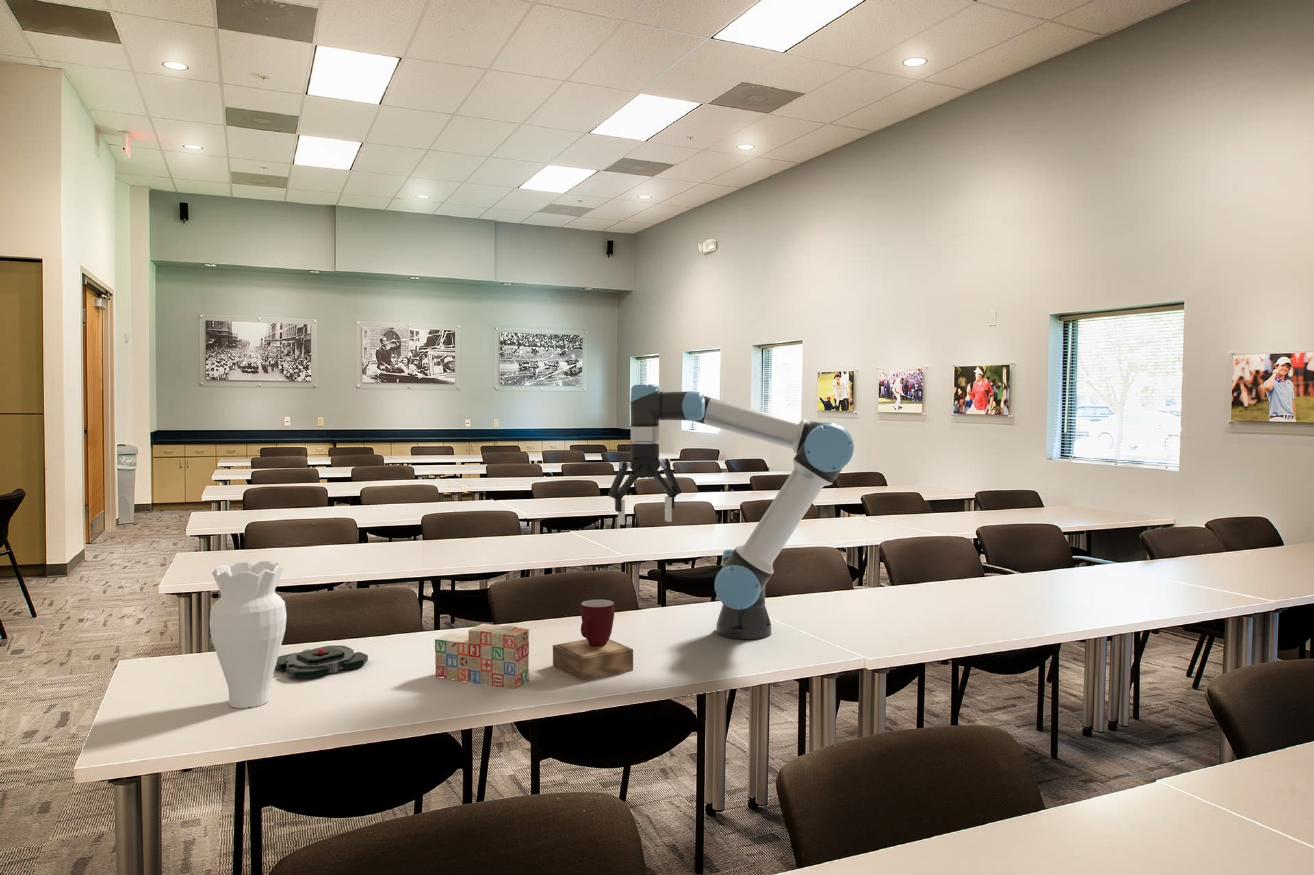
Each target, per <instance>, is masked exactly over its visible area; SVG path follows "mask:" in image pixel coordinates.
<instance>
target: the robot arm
mask: <svg viewBox="0 0 1314 875" xmlns="http://www.w3.org/2000/svg"><path fill="white" fill-rule="evenodd" d="M629 403H630V404H629V405H630V442H632V443H631V444H630V462H628V461H627V462H626V461H620V462H619V464H618V465H619V467H618V470H617V473H616V475H615V477H614V480H613V482H612V484H611V486H610V489H609V491H608V493H607V496H608V497H609V498H612V499H613V500H614V511H615V512H617V517H618V518H617V519H618V521H617V523H618V525H622V526H624V525H626V502H625V501H626V500H625V499H623V498H624V496H625V495H626V494H627V492H628V491H629V490H630V489H631V487H632V486H633V485H634V483H635V482H636V481H637V480H638V479H645V478H648V479H652V478H653V479H654V480H655V482H656V483H657V484H658V485H659V486H660V488H661V489H662V490H663V491H664V493H666V495H667V496H664V521H665V522H673V521H672V520H673V515H672V514H673V510H674V509H675V498H676V497H677V495H681V493H682V490H681V488H680V486H679V483H678V482H677V479H676V477H675V475H674V472H673V470H672V469H671V461H670V460H669V459H663V460H661V461H660V459H659V458H660V444H659V443H658V442H659V441H660V421H689V422H696V423H699V424H703V425H707V426H710V427H714V428H717V429H720V430H724V431H729V432H730V433H731V432H732V433H735V434H738V435H739V434H740V435H743V436H746V437H749V438H754V439H757V440H760V441H764V442H767V443H771V444H775V445H778V446H781V447H785V448H789V449H792V450H793V452H794V454H795V456H794V457H793V458H792V459H793V467H794V469H793V470H792V471H791V473H790V474H789V476H788V477H787V479H786V480H785V482H784V484H783V485H782V487H781V488H780V489H779V491H778V493H777V494H776V496H775V497H774V499H773V500H772V502H771V503H770V505H769V507H768V508H767V510H766V511H765V513H764V514H763V515H762V517H761V519H759V521H758V523H757V525H756V526H755V527H754V529H753V531H752V532H751V534H750V535H749V537H748V539H746V542H744V544H742V545H739V546H736V547H735V548H734V549H731V548H730V549H724V551H723V552H722V558H721V561H722V568H720V570H719V571H718V573H717V574H716V576H715V579H714V591H715V594H716V597H717V598H718V600H719V601H720V602H721V603H722V605H721V609H720V611H719V615H718V618H717V621H716V629H715V630H716V633H717V634H718V635H720V636H721V637H725V638H729V639H734V640H736V639H737V640H755V639H757V640H758V639H762V638H763V639H764V638H767V637H768V636H770V635H771V634H772V623H771V619H770V616H769V613H768V611H767V610H768V609H767V607H766V585H767V583H768V582H769V581H770V579H771V577H772V575H773V574H774V572H775V571H774V568H773V567H774V566H773V564H774V561H775V560H776V559H777V557H778V555H780V553H781V551H782V549H783V548H784V547H785V545H786V543H787V542H788V540H789V539H790V537H791V536H792V535H793V533H794V531H795V530H796V529H797V527H798V525H799V524H800V522H802V520H803V518H804V516H805V514H806V513H807V512H808V511H809V509H810V507H811V506H812V504H813V503H814V501H815V500H816V498H817V497H818V496H819V494H820V492H821V491H822V489H823V488H824V487H825V486H826V487H828V486H830V485H833V483H834V482H835V480H837V477H838V476H839V474H840V473H841V472H842V470H843V469H844V468H845V466H847V465H848V464H849V462H850V461H851V460H852V457H853V455H854V449H855V448H854V447H855V446H854V445H855V444H854V440H853V438H852V435H851V434H850V433H849V431H848V430H847V429H846V428H844V427H843V426H841V425H839V424H837V423H834V422H833V423H832V422H819V421H813V420H808V419H806V418H805V419H802V420H800V421H799V420H796V419H795V420H794V419H791V418H787V417H784V416H781V415H777V414H773V413H769V412H766V411H762V410H757V409H754V408H750V407H746V406H743V405H741V404H740V405H739V404H735V403H732V402H728V401H724V400H721V399H717V398H713V397H709V396H706V395H704V393H703V392H701V391H693V390H689V391H660V386H659V385H658V384H651V383H650V384H643V383H639V384H634V385H632V387H631V388H630V401H629ZM660 467H661V469H663V473H664V475H665V477H666V480H667V481H668V483H667V482H666V480H665V479H664V478H663V476H662V474H661V473H660V471H659V470H660ZM629 468H630V469H631V472H630V473H629V474H628V477H627V478H626V479H625V481H624V482H623V480H624V477H626V474H627V471H628V470H629ZM622 483H623V484H622ZM621 485H622V486H621Z"/></svg>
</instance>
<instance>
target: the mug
mask: <svg viewBox="0 0 1314 875" xmlns="http://www.w3.org/2000/svg"><path fill="white" fill-rule="evenodd" d="M615 610H616V608H615V602H614V601H613V600H609V599H588V600H585V601H582V602H581V603H580V615H581V625H580V633H581V636H582V637H583V639H587V641H588V642H589V644H590V645H591V646H596V647H599V646H604V645H606V644H607V642H608V640H609V639H610V637H611V635H612V631H613V626H614V619H615Z"/></svg>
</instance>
